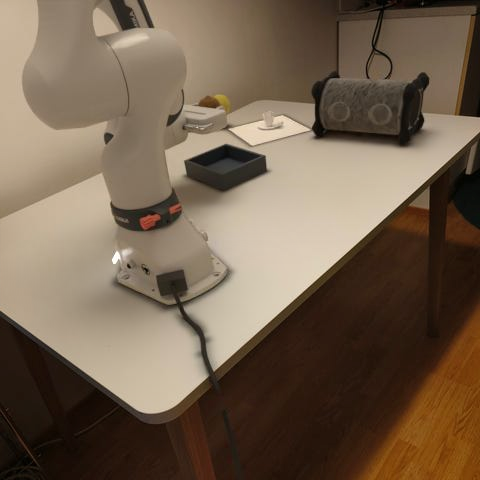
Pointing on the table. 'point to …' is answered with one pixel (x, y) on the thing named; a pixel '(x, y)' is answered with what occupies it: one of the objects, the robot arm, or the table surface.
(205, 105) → the fruit
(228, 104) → the light bulb
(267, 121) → the teacup and saucer
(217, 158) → the tub
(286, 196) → the table surface
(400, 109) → the speaker
